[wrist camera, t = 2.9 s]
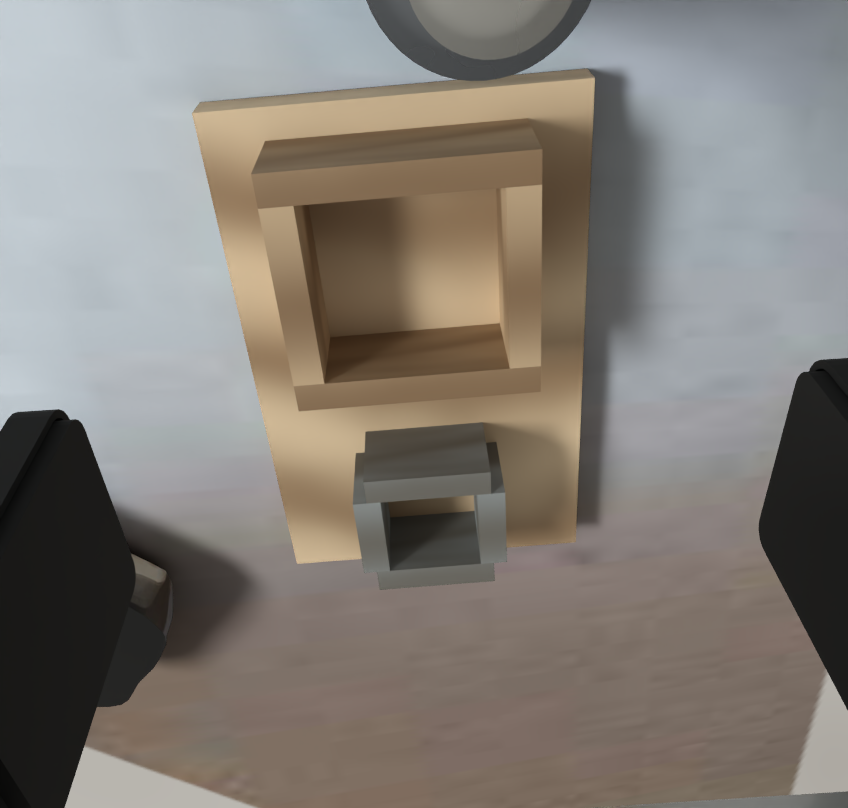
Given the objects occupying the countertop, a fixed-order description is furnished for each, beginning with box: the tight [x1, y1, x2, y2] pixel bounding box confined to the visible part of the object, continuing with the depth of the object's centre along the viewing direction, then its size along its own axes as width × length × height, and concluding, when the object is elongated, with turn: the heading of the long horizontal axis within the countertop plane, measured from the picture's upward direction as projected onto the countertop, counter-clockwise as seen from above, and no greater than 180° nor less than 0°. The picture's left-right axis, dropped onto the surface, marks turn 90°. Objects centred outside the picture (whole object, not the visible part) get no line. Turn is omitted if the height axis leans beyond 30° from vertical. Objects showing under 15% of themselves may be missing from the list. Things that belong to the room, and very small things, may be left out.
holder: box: [192, 69, 595, 590], centre depth 29 cm, size 19×12×4 cm, turn 4°
